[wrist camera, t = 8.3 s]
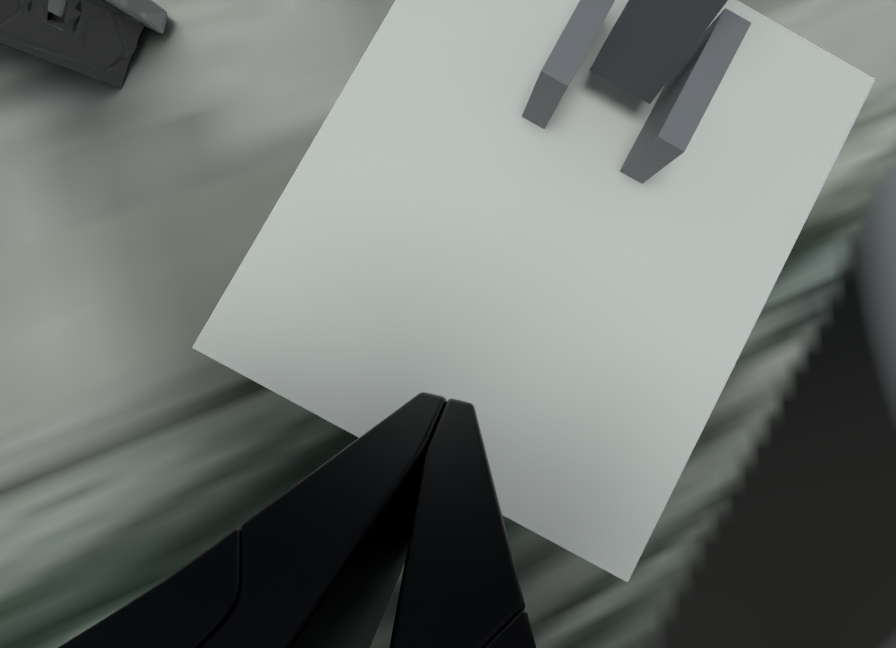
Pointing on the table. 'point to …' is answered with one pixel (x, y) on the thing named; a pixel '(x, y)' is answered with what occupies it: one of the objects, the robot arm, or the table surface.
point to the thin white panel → (541, 246)
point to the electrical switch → (80, 32)
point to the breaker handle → (652, 42)
